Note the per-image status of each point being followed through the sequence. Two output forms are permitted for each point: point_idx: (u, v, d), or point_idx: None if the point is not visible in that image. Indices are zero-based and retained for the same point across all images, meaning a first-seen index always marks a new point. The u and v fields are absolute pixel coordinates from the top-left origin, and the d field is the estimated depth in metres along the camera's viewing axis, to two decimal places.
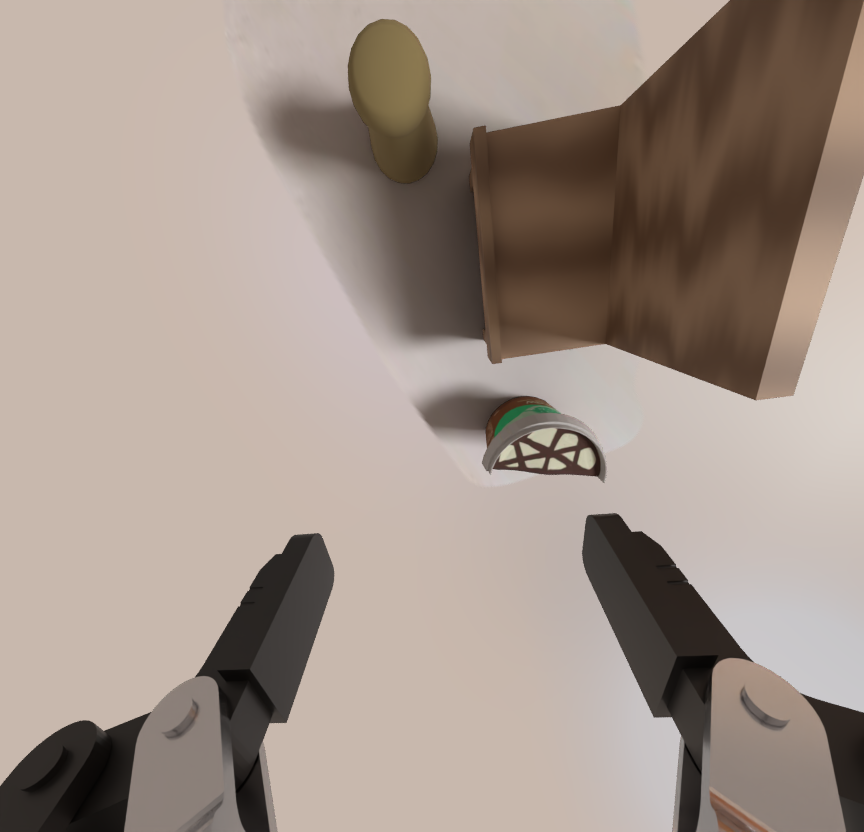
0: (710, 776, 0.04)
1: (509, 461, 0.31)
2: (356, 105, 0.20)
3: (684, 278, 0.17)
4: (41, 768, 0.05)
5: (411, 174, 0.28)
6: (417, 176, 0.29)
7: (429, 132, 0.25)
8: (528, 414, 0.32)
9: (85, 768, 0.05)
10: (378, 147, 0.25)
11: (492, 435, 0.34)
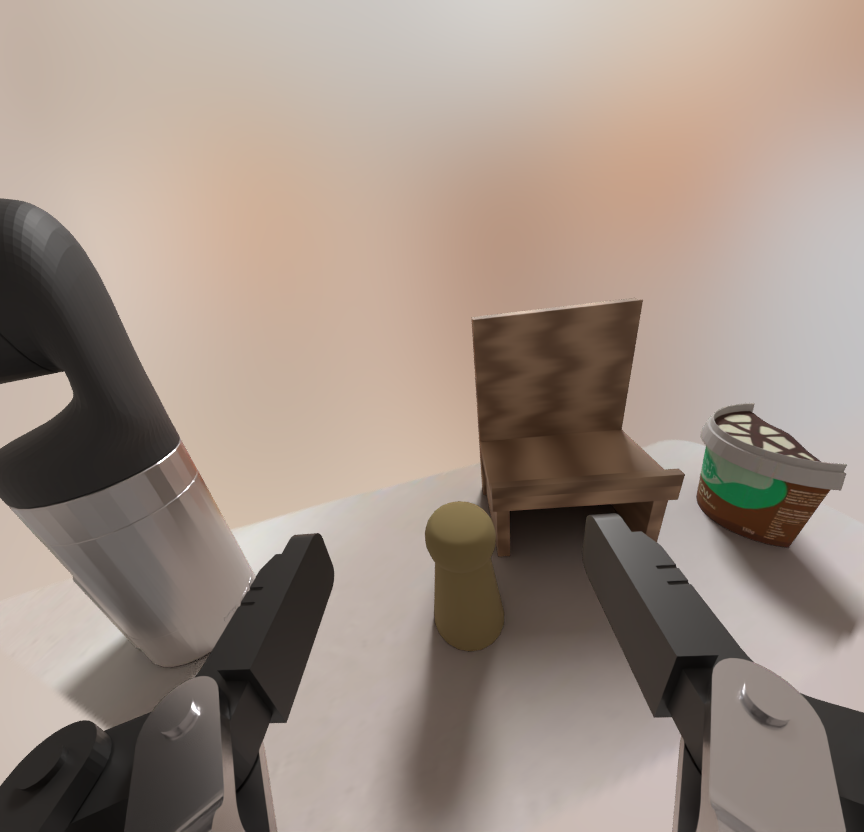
0: (710, 777, 0.04)
1: (804, 459, 0.26)
2: (475, 553, 0.21)
3: (580, 363, 0.32)
4: (41, 768, 0.05)
5: None
6: None
7: None
8: (724, 472, 0.30)
9: (85, 768, 0.05)
10: (486, 599, 0.23)
11: (785, 505, 0.27)
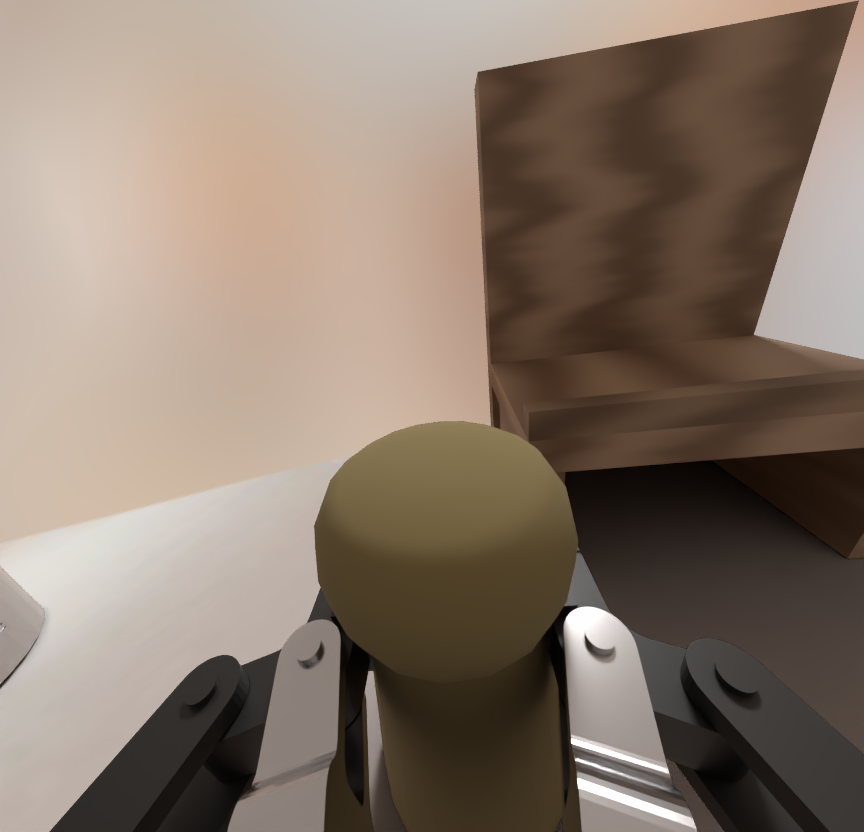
0: (570, 725, 0.05)
1: None
2: (508, 602, 0.04)
3: (695, 183, 0.16)
4: (200, 690, 0.06)
5: None
6: None
7: None
8: None
9: (235, 693, 0.06)
10: (533, 742, 0.07)
11: None
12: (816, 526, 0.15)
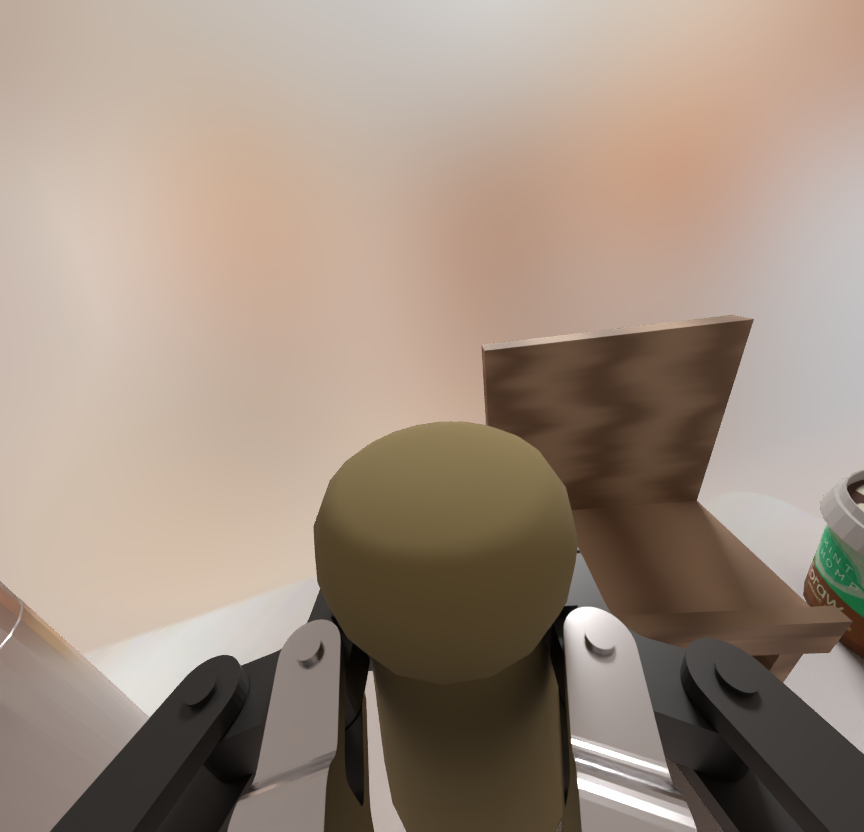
0: (570, 725, 0.05)
1: None
2: (507, 604, 0.04)
3: (646, 413, 0.22)
4: (200, 690, 0.06)
5: None
6: None
7: None
8: None
9: (235, 692, 0.06)
10: (532, 743, 0.07)
11: None
12: None
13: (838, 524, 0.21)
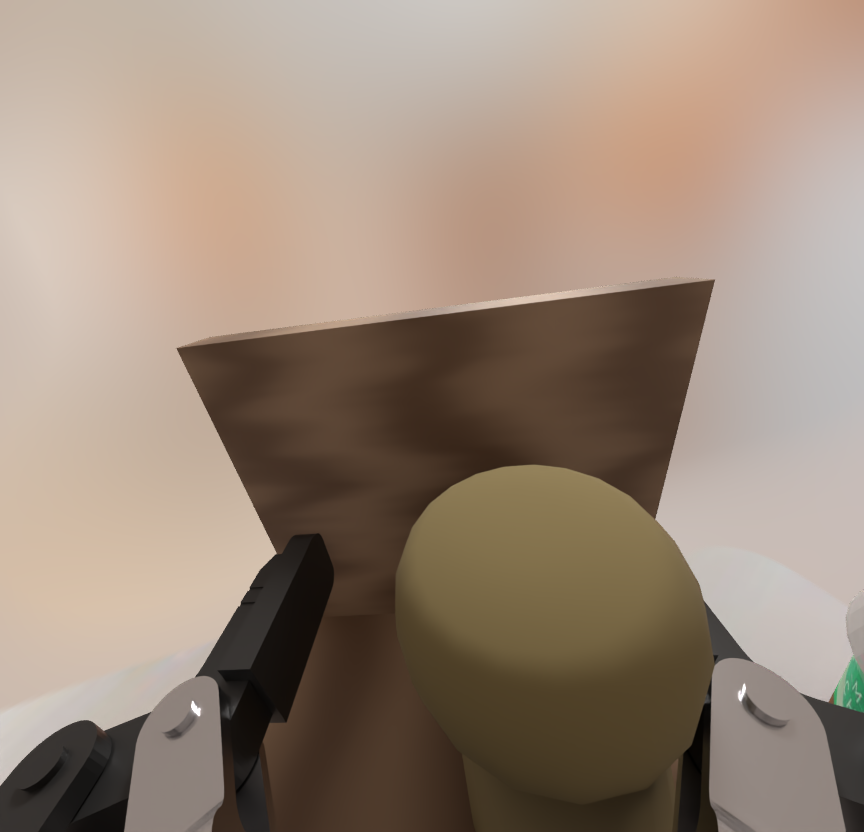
0: (710, 776, 0.04)
1: None
2: (663, 721, 0.04)
3: None
4: (41, 768, 0.05)
5: None
6: None
7: None
8: None
9: (85, 768, 0.05)
10: (659, 825, 0.06)
11: None
12: None
13: None
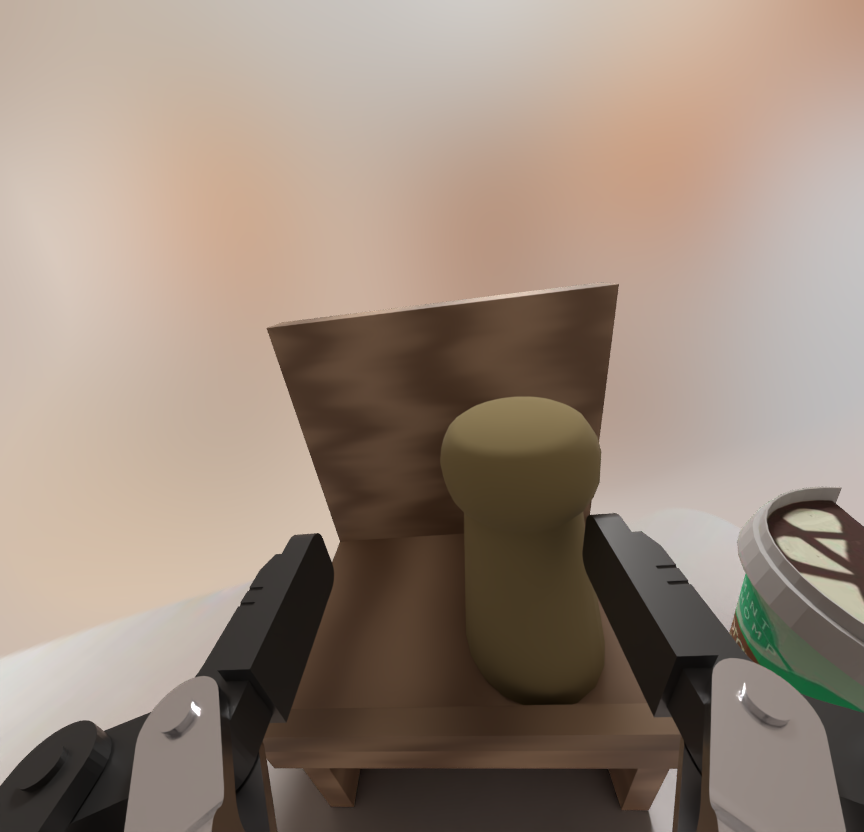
0: (710, 776, 0.04)
1: None
2: (573, 472, 0.08)
3: None
4: (41, 768, 0.05)
5: None
6: None
7: None
8: (795, 654, 0.14)
9: (85, 768, 0.05)
10: (583, 592, 0.11)
11: None
12: None
13: (751, 565, 0.15)
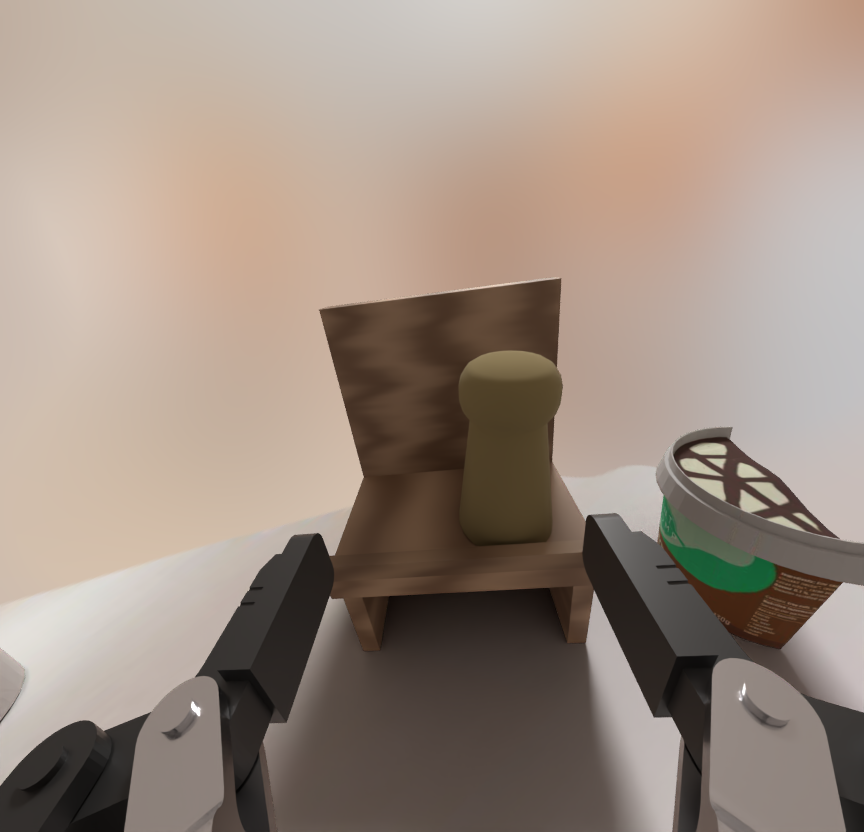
0: (711, 777, 0.04)
1: (802, 525, 0.16)
2: (547, 393, 0.14)
3: None
4: (42, 767, 0.05)
5: None
6: None
7: None
8: (685, 531, 0.20)
9: (85, 768, 0.05)
10: (544, 478, 0.17)
11: (773, 594, 0.17)
12: (560, 616, 0.22)
13: (660, 477, 0.22)
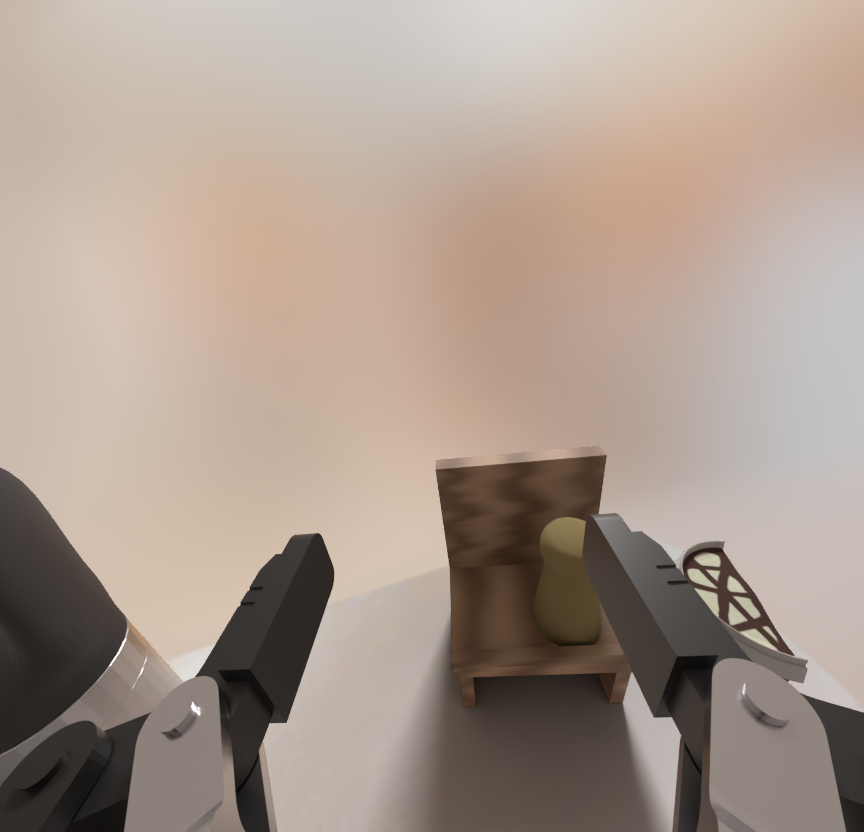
0: (710, 776, 0.04)
1: (767, 637, 0.26)
2: None
3: (547, 506, 0.32)
4: (41, 768, 0.05)
5: None
6: None
7: None
8: None
9: (85, 768, 0.05)
10: (598, 600, 0.26)
11: None
12: (603, 682, 0.31)
13: None
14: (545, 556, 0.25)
